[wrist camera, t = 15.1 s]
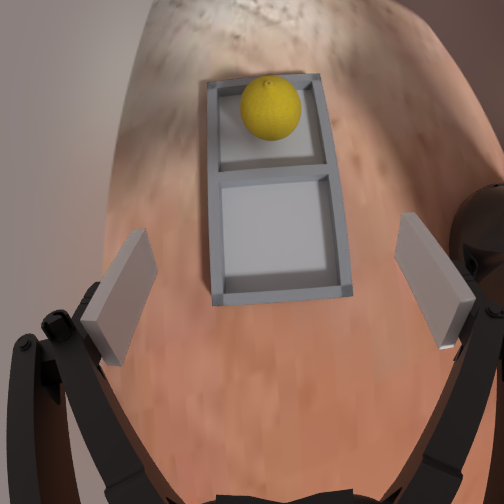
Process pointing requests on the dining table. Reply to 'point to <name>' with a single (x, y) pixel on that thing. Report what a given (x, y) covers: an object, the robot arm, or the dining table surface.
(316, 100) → the grey divided tray
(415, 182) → the dining table surface
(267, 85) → the lemon
